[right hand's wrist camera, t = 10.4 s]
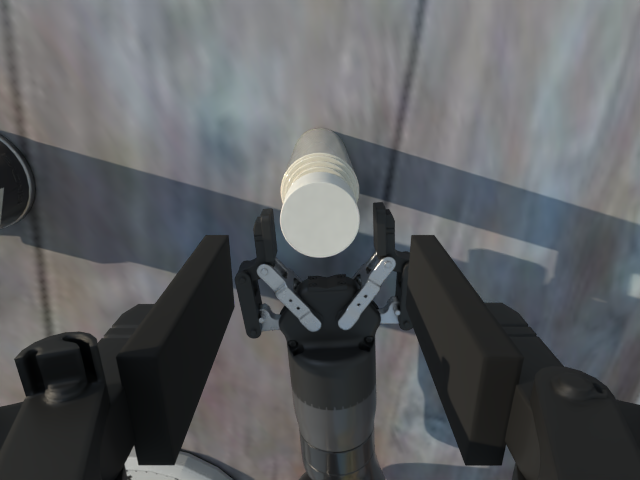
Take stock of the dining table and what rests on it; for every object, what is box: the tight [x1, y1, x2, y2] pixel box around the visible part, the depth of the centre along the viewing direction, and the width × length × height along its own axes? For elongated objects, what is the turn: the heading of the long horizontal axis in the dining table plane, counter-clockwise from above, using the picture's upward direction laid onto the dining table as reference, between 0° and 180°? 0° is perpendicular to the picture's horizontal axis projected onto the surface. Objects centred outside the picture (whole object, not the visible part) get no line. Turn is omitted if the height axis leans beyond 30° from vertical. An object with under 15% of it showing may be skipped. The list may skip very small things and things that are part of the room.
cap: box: [280, 172, 360, 258], centre depth 21 cm, size 4×4×2 cm
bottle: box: [281, 128, 359, 203], centre depth 28 cm, size 5×5×18 cm
